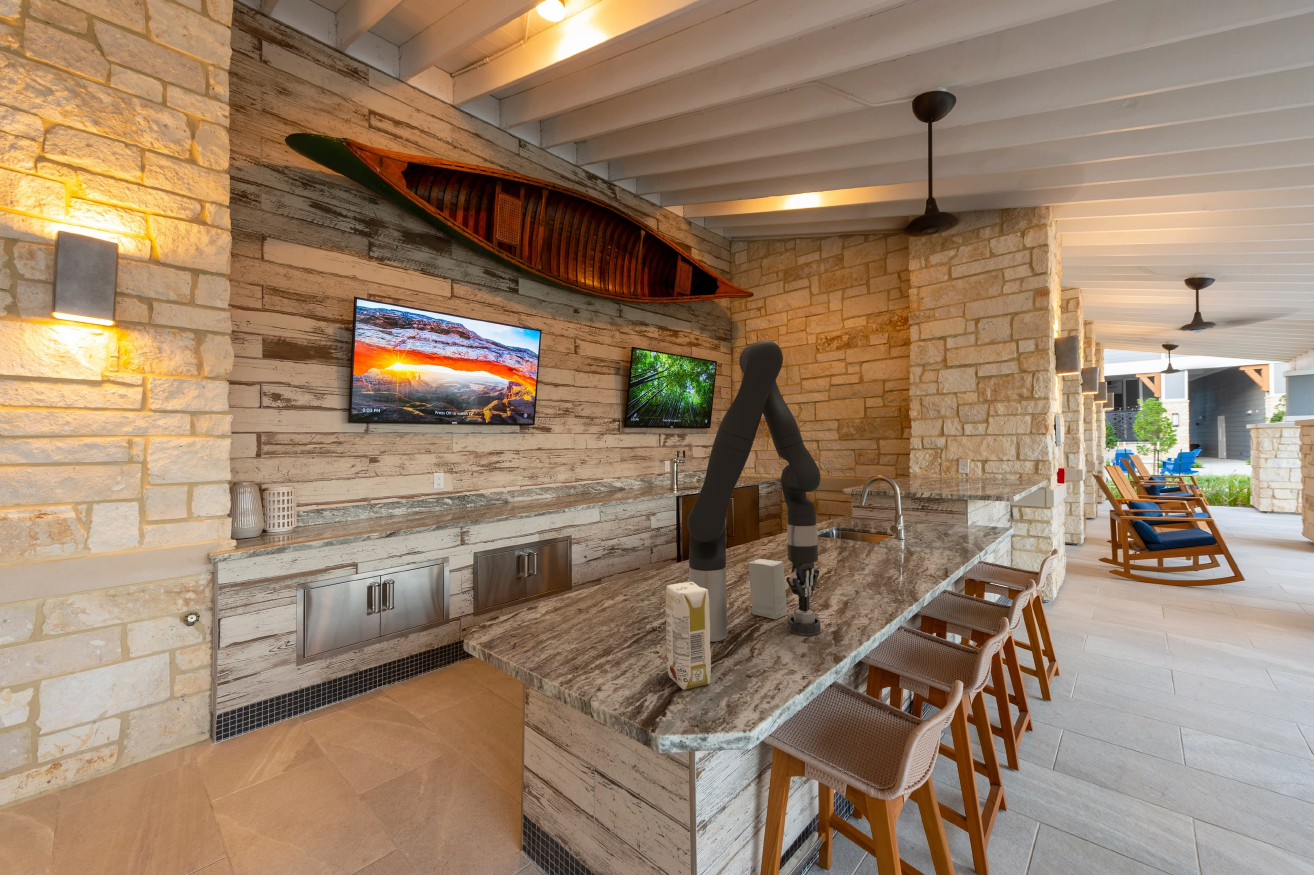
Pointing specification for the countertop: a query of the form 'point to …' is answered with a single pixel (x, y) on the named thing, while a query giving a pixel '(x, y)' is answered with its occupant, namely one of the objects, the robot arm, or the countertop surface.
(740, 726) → the countertop surface
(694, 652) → the juice carton
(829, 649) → the countertop surface
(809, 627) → the black round dish
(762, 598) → the skincare box
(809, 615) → the cap
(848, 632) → the countertop surface
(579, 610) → the countertop surface
